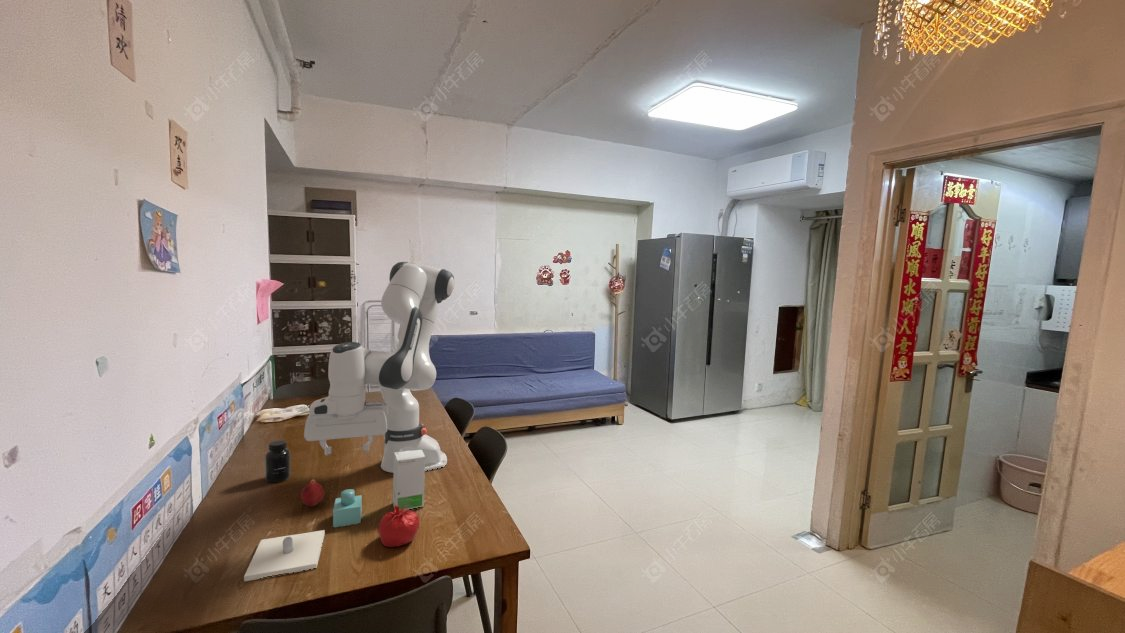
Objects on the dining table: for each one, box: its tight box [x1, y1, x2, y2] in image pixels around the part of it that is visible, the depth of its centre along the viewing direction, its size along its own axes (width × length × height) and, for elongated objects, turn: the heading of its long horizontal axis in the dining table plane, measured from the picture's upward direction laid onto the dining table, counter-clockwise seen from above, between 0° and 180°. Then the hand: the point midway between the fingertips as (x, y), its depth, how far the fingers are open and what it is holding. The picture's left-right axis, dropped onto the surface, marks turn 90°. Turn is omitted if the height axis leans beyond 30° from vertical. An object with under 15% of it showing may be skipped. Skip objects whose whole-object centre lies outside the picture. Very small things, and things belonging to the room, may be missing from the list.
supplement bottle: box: [264, 439, 291, 484], centre depth 143 cm, size 7×7×12 cm
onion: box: [300, 479, 325, 507], centre depth 128 cm, size 6×6×8 cm
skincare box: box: [392, 450, 426, 510], centre depth 130 cm, size 8×7×16 cm
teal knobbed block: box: [332, 488, 363, 528], centre depth 122 cm, size 7×7×8 cm
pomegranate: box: [377, 505, 420, 548], centre depth 114 cm, size 10×10×9 cm
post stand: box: [243, 529, 326, 582], centre depth 106 cm, size 14×14×5 cm
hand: (347, 452), depth 121 cm, fingers open, 8 cm apart
